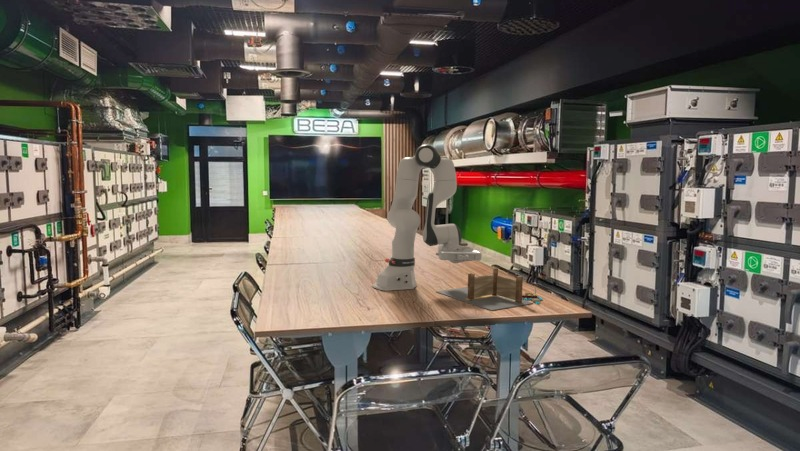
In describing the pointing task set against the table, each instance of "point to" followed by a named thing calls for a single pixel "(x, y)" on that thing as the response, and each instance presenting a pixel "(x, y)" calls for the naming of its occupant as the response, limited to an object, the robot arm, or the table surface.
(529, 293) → the gear mechanism
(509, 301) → the board
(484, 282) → the fence panel
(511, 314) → the table surface
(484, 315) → the table surface
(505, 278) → the fence fixed
